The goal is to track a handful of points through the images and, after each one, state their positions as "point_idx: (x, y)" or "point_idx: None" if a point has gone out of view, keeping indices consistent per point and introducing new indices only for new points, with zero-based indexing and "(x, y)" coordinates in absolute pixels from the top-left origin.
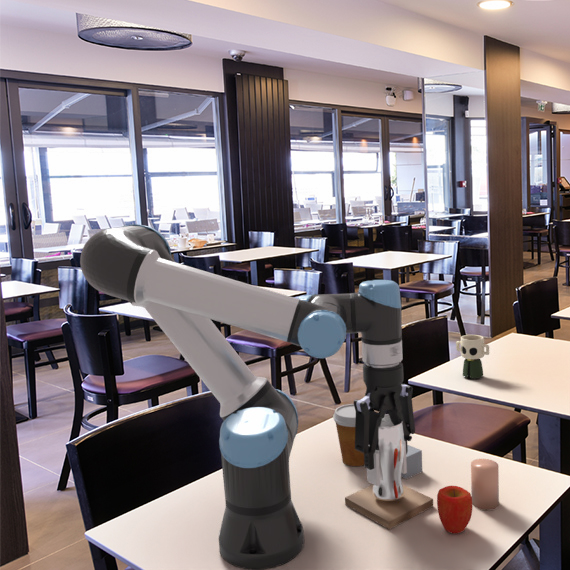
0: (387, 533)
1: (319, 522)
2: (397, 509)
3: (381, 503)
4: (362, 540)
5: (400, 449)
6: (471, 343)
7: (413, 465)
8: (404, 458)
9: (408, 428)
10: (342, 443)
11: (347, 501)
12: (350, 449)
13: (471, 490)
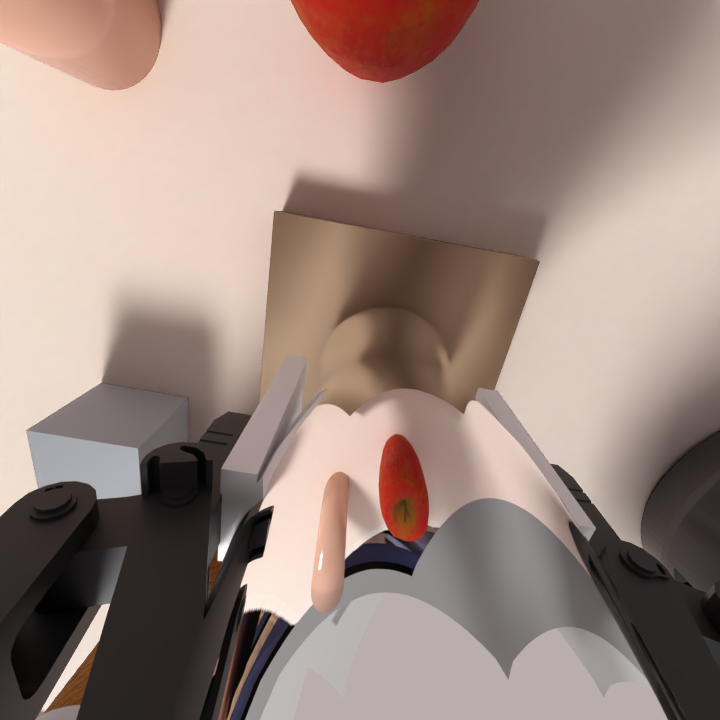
0: (553, 248)
1: (591, 457)
2: (438, 286)
3: None
4: (635, 295)
5: (427, 414)
6: None
7: (123, 411)
8: (282, 396)
9: (65, 565)
10: None
11: None
12: None
13: (100, 55)
